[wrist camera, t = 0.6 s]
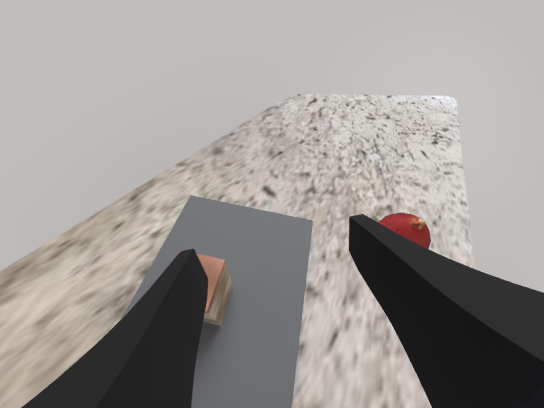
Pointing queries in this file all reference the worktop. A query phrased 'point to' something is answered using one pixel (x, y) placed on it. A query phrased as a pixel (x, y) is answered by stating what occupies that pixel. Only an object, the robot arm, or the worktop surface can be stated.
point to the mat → (244, 301)
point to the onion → (408, 227)
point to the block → (216, 288)
